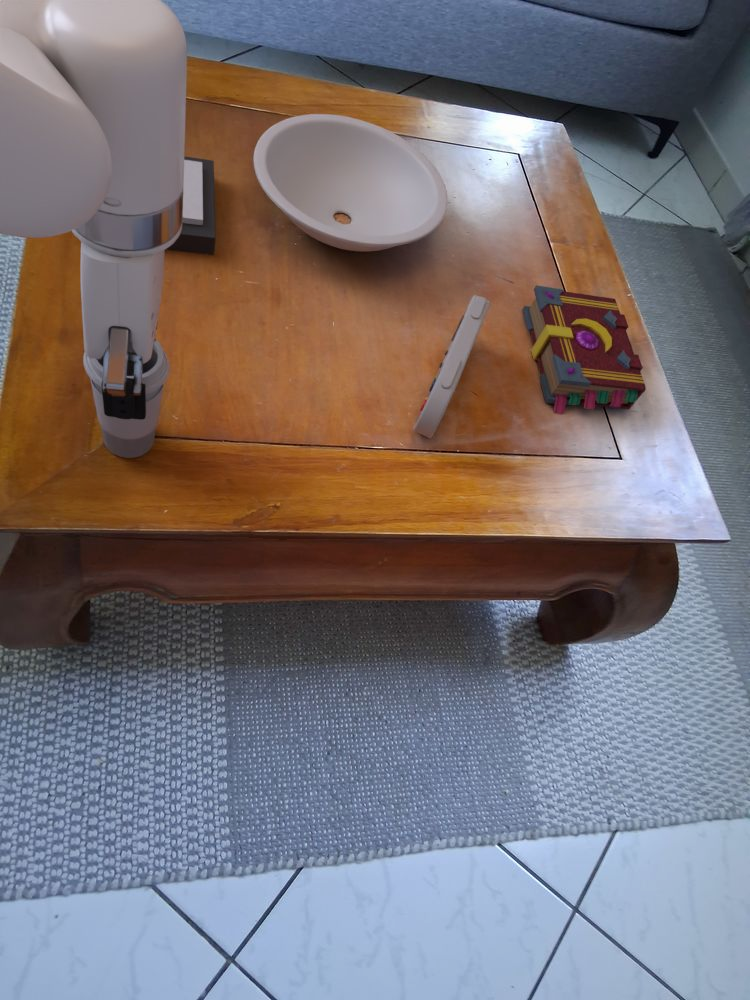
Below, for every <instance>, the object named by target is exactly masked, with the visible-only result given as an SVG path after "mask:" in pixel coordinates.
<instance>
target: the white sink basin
mask: <svg viewBox="0 0 750 1000" xmlns="http://www.w3.org/2000/svg"><path fill="white" fill-rule="evenodd" d="M252 161H253V169H254V171H255V172H254V173H255V176H256V178H257V181H258V183H259V185H260V186H261V189H262V191H264V193H265V194H266V196H267V197H268V198H269V199H270V201H271V202H272V203H273V204H275V206H276V207H277V208H278V209H280V211H282V213H283V214H284V215H285V216H286V217H287V218H288V220H289V221H290V222H291V223H293V225H295V226H296V228H298V229H299V230H301V231H302V232H303V233H305V234H306V235H307V236H310V237H311V238H313V239H314V240H317V241H319V242H320V243H323V244H325V245H327V246H330V247H333V248H338V249H340V250H344V251H350V252H366V253H367V252H377V251H378V252H379V251H383V250H388V249H391V248H395V247H397V246H404V245H407V244H411V243H414V242H417V241H419V240H421V239H423V238H426V237H427V236H429V235H430V234H431V233H432V232H434V231H435V230H436V229H437V228H438V227H439V225H440V224H441V223H442V221H443V219H444V218H445V216H446V213H447V209H448V191H447V188H446V184H445V181H444V179H443V177H442V175H441V174H440V171H438V169H437V168H436V166H435V165H434V163H432V162H431V160H430V159H429V158H428V157H427V156H426V155H425V154H424V153H423V152H421V151H420V150H419V149H418V148H417V147H416V146H415V145H414V144H412V143H411V142H409V141H407V140H406V139H404V138H403V137H401V136H399V135H398V134H396V133H394V132H392V131H391V130H388V129H386V128H384V127H382V126H380V125H376V124H374V123H371V122H368V121H366V120H362V119H358V118H354V117H351V116H346V115H341V114H340V115H339V114H330V113H329V114H328V113H312V114H311V113H310V114H302V115H296V116H291V117H289V118H286V119H283V120H281V121H278V122H277V123H274V124H273V125H271V126H270V127H269V128H268V129H266V130H265V131H264V132H263V133H262V135H260V137H259V138H258V140H257V143H256V145H255V148H254V152H253V160H252ZM339 213H340V214H344V215H347V216H348V217H349V218H350V222H349V223H341V222H339V221H337V220H336V219H335V217H334V215H335V214H339Z"/></svg>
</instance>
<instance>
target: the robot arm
mask: <svg viewBox="0 0 750 1000" xmlns="http://www.w3.org/2000/svg"><path fill="white" fill-rule="evenodd" d="M187 79H188V45H187V37H186V35H185V31H184V28H183V25H182V23H181V22H180V20H179V19H178V17H177V15H176V14H175V12H174V11H173V10H172V9H171V8H170V7H169V6H168V5H167V4H166V3H164V2H163V1H162V0H0V234H1V235H4V236H10V237H16V238H23V239H24V238H25V239H43V238H50V237H56V236H58V235H59V236H60V235H63V234H66V233H70V232H71V233H72V234H73V235H74V236H75V237H76V238H77V239H78V240H79V241H80V261H79V263H80V265H79V266H80V270H79V271H80V274H79V275H80V276H79V277H80V280H79V281H80V299H81V301H80V302H81V317H82V319H81V320H82V332H83V333H82V334H83V350H84V352H85V353H86V354H87V356H88V357H89V358H95V359H101V358H102V356H104V361H103V380H102V384H101V386H102V396H103V406H104V414H105V415H106V416H109V417H116V418H119V419H139V420H143V419H145V417H146V386H145V384H143V383H142V367H143V364H144V363H146V362H148V361H149V360H150V359H151V355H152V350H153V344H154V339H155V338H156V334H157V330H158V323H159V315H160V310H161V309H160V308H161V302H162V294H163V284H164V275H165V273H164V272H165V251H166V249H167V248H168V247H170V246H171V245H172V244H173V243H174V242H175V241H176V240H177V239H178V237H179V235H180V233H181V230H182V218H183V183H184V156H185V149H186V148H185V145H186V116H187V115H186V114H187V112H186V111H187V81H188V80H187ZM129 342H132V348H133V349H134V351H135V352H130V351H129ZM128 361H129V362H134V378H127V364H128Z"/></svg>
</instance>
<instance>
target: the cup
mask: <svg viewBox="0 0 750 1000" xmlns="http://www.w3.org/2000/svg"><path fill="white" fill-rule="evenodd" d="M129 351H130V352H135V351H134V349H133V348H132V342H129ZM103 361H104V356H102V358H101V359H95V358H89V357H88V356H87V354H86V353H85V351H84V353H83V356H82V363H83V368H84V370H85V372H86V374H87V377H89V379H90V384H91V391H92V393H93V394H92V395H93V401H94V406H95V411H96V417H97V420H98V423H99V425H100V430H101V436H102V441H103V444H104V446H105V448H106V449H107V450H108V451H109V452H110V453H111V454H112V455H115V456H117V457H120V458H124V459H133V458H138V457H141V456H144V455H145V454H147V453H148V452H149V451H150V450H151V449H152V447H153V446H154V443H155V437H156V430H157V425H158V423H159V419H160V412H161V404H162V397H163V391H164V384H165V382H166V381H167V380H168V378H169V375H170V369H171V367H170V360H169V358H168V356H167V353H166V352H165V350H164V348H163V346H162V344H161V343H160V342H159V340H158V339H157V338H156V337H155V339H154V344H153V350H152V355H151V359H150V360H149V361H148V362H146V363H144V364H143V367H142V383H143V384H145V386H146V417H145V419H143V420H139V419H119V418H116V417H109V416H106V415H105V414H104V406H103V396H102V386H101V384H102V380H103ZM127 378H134V362H129V361H128V364H127Z"/></svg>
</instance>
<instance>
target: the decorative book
mask: <svg viewBox="0 0 750 1000" xmlns="http://www.w3.org/2000/svg"><path fill="white" fill-rule="evenodd" d="M533 293H534V295H535V298H534V300H533V301H532V303H531V305H524V306H523V308H522V313H523V317H524V322H525V325H526V329H527V332H528V333H530V338H531V343H532V345H533V346H532V348H531V349H530V352H531V355H532V359H533V361H537V366H538V369H539V374H540V376H539V380H540V384H541V388H542V393H543V396H544V397H543V398H544V401H545V403H546V404H553V405H554V406H553V414H560V415H565V409H566V406H579V405H583V409H587V410H595V407H603V408H613V409H620V410H621V409H623V410H630V409H631V408H632V407H633V405H634V404H635V403H636V402H637V401H638V399H639V398H640V397H641V396H642V395H643V393H645V391H646V390H647V388H646V385H645V382H644V378H643V376H642V373H641V372H642V370H643V364H642V362H641V358H640V356H639V354H635V353H634V350H633V347H632V345H631V340H630V338H629V335H628V332H627V330H628V328H629V324H628V321H627V318H626V315H625V314H622V313H621V311H620V309H619V305H618V303H617V299H616V298H612V297H605V296H599V295H593V294H585V293H578V292H572V291H571V292H570V291H565V289H563V288H556V287H551V286H544V285H535V287H534V288H533Z"/></svg>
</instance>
